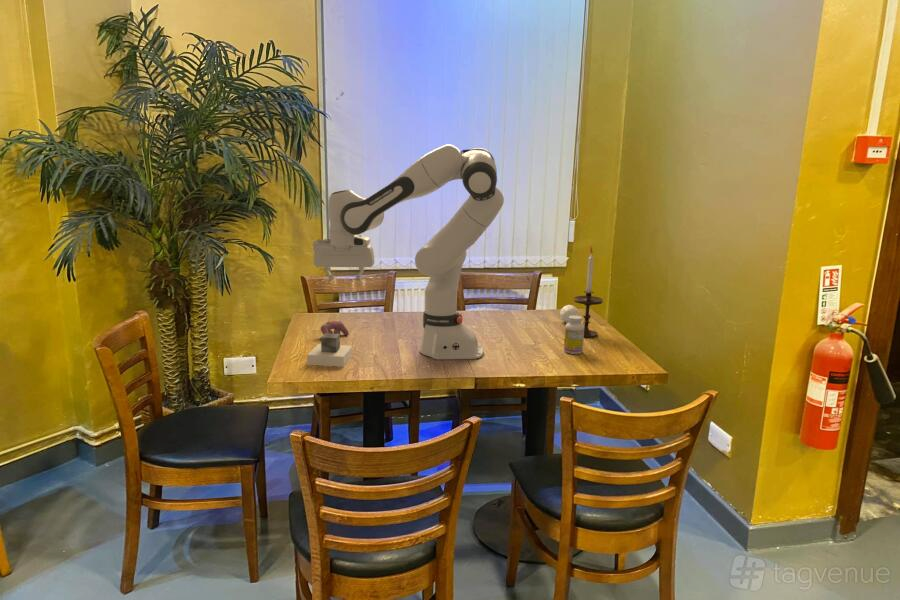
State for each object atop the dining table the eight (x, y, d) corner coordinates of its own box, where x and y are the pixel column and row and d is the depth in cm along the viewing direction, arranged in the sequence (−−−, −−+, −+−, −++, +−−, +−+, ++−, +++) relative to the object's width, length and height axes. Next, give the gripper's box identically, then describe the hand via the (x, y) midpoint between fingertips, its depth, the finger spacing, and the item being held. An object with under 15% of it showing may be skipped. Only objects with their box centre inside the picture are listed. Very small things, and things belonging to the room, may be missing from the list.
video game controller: (344, 337, 244) (338, 320, 244) (350, 334, 240) (345, 317, 241) (322, 342, 237) (317, 324, 237) (328, 339, 233) (323, 321, 234)
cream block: (352, 356, 218) (352, 345, 217) (343, 368, 206) (343, 356, 205) (318, 355, 219) (318, 344, 218) (307, 366, 207) (307, 354, 206)
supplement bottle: (567, 348, 231) (569, 313, 228) (584, 350, 228) (587, 316, 225) (561, 352, 225) (563, 317, 222) (579, 355, 222) (582, 320, 219)
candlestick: (587, 340, 241) (594, 248, 233) (565, 333, 249) (571, 245, 241) (605, 335, 248) (612, 246, 240) (583, 329, 256) (589, 242, 248)
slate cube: (339, 348, 214) (339, 333, 213) (336, 352, 209) (336, 338, 208) (325, 347, 214) (324, 333, 213) (321, 352, 209) (321, 337, 208)
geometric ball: (563, 329, 266) (552, 313, 266) (575, 320, 270) (564, 304, 270) (574, 324, 259) (563, 308, 259) (586, 315, 263) (575, 299, 263)
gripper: (309, 240, 210) (312, 281, 213) (371, 240, 209) (372, 281, 212) (315, 238, 216) (317, 278, 219) (374, 238, 215) (376, 278, 218)
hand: (344, 280), depth 216 cm, fingers open, 8 cm apart
